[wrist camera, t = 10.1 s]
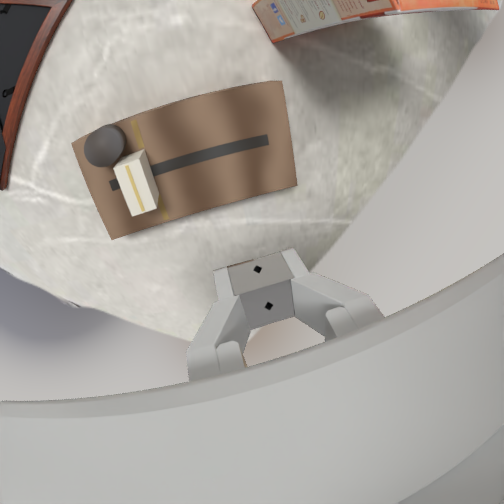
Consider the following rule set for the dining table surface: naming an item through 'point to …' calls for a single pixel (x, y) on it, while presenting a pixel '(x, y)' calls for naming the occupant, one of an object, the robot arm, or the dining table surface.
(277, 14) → the cracker box
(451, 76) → the dining table surface
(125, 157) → the fader tab
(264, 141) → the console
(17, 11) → the picture frame
